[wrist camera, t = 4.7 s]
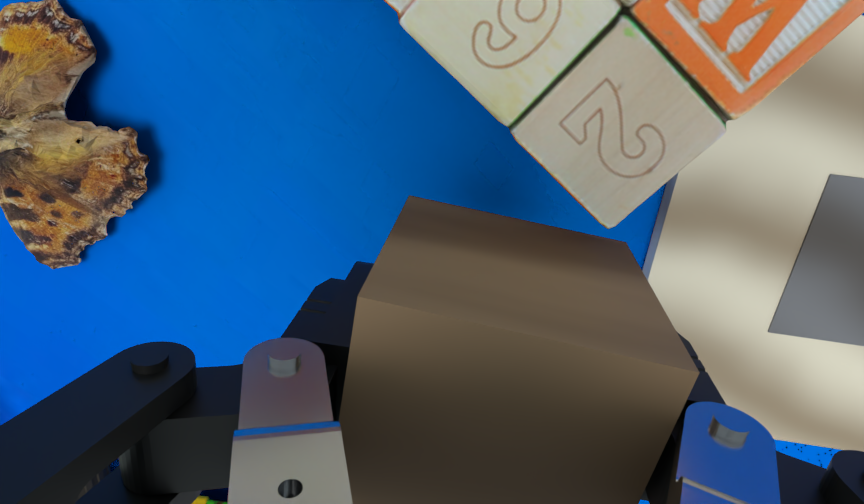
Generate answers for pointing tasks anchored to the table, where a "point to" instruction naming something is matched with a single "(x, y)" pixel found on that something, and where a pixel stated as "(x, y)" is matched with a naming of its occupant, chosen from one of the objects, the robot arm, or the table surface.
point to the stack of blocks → (621, 77)
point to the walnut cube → (507, 366)
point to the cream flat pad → (777, 253)
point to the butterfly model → (57, 139)
